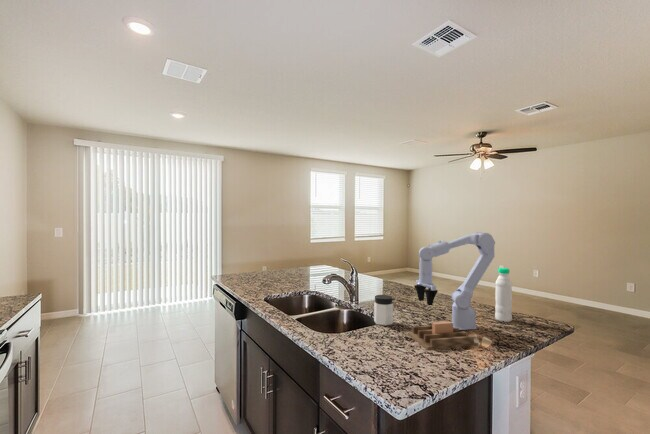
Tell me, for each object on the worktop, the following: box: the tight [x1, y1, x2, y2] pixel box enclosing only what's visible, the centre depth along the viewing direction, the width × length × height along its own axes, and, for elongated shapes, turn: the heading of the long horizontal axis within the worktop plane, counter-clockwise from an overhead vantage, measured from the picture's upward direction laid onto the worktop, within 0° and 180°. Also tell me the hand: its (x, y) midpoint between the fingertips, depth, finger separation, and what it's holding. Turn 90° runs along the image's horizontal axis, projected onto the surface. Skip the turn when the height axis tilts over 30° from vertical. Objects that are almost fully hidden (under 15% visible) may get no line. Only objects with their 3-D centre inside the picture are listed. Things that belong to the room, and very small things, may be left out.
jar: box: [373, 294, 394, 326], centre depth 146 cm, size 9×8×12 cm
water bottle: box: [494, 267, 513, 323], centre depth 152 cm, size 7×7×25 cm
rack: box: [407, 324, 480, 350], centre depth 126 cm, size 22×15×3 cm
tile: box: [431, 321, 453, 334], centre depth 126 cm, size 8×2×6 cm, turn 102°
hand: (425, 302), depth 144 cm, fingers open, 7 cm apart
